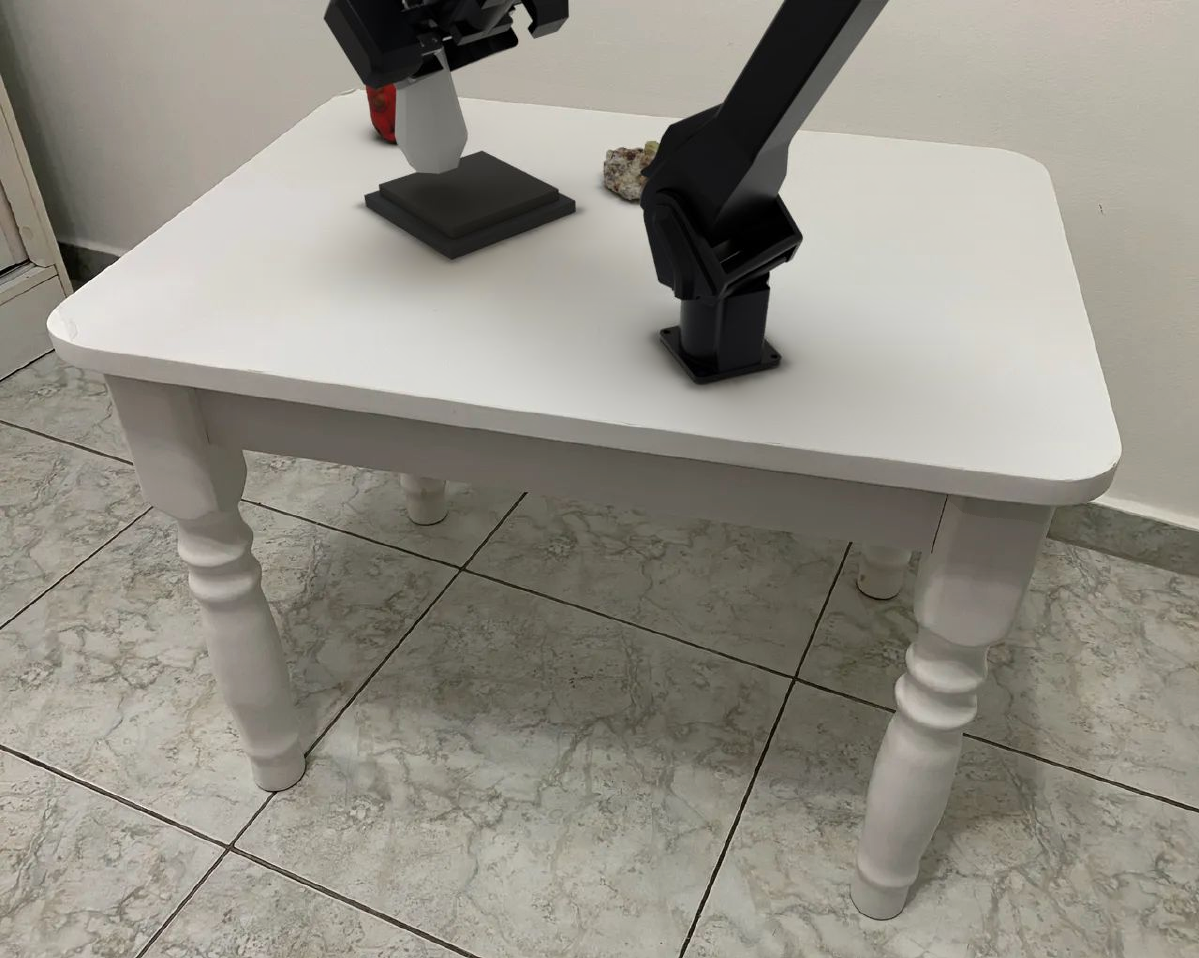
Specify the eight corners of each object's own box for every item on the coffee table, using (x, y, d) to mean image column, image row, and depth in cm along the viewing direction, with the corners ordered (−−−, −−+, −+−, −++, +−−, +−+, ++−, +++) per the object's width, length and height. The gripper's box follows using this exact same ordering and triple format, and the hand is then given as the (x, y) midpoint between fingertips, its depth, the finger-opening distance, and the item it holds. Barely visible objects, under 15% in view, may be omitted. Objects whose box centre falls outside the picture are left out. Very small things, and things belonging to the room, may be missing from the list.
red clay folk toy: (396, 152, 96) (373, -17, 86) (356, 131, 100) (330, -33, 90) (460, 131, 100) (445, -33, 90) (420, 112, 104) (401, -47, 94)
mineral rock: (586, 173, 87) (614, 117, 91) (589, 213, 90) (616, 156, 94) (707, 194, 84) (731, 135, 88) (705, 234, 88) (728, 175, 92)
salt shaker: (395, 154, 84) (371, -14, 76) (463, 146, 85) (446, -20, 77) (405, 182, 80) (380, 7, 71) (476, 173, 81) (460, 0, 73)
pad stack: (576, 211, 86) (575, 189, 85) (451, 259, 80) (449, 236, 79) (486, 165, 94) (484, 144, 93) (365, 205, 87) (361, 183, 86)
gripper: (535, -181, 71) (450, -35, 84) (311, -148, 60) (254, 13, 73) (617, -41, 72) (521, 82, 84) (410, 16, 61) (336, 146, 74)
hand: (414, 78), depth 79 cm, fingers closed on salt shaker, 3 cm apart
